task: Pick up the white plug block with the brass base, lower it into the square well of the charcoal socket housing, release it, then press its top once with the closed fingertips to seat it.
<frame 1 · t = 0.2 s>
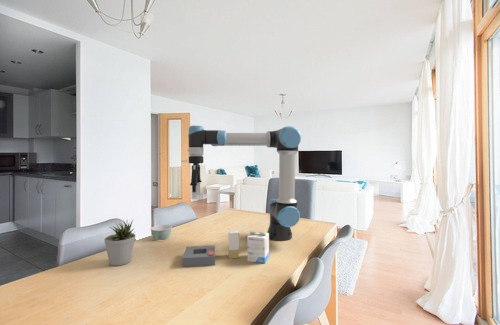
hand: (196, 196, 130), 28 cm above the table, fingers open, 13 cm apart
ink box: (258, 259, 117), on the table
potted plant: (120, 263, 113), on the table
food container: (161, 238, 147), on the table
plug: (233, 256, 121), on the table
socket: (199, 259, 116), on the table
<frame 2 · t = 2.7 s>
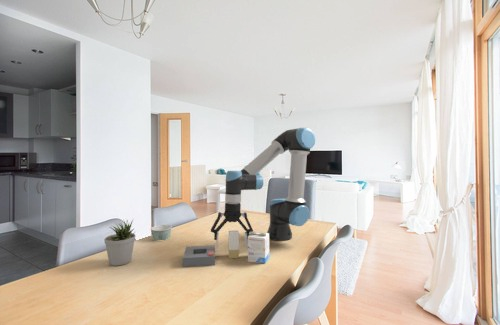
hand: (231, 246, 120), 5 cm above the table, fingers open, 13 cm apart
ink box: (258, 259, 117), on the table, touching gripper
everything else where it was.
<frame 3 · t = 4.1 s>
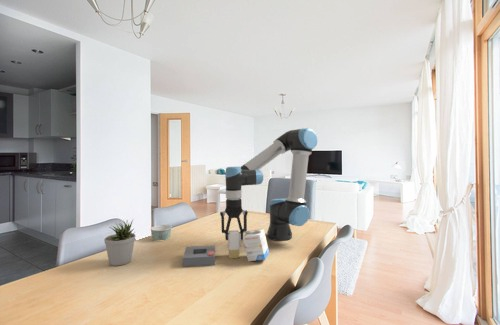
hand: (234, 246, 121), 5 cm above the table, fingers closed on plug, 5 cm apart
ink box: (258, 257, 117), point 1 cm above the table
plug: (233, 256, 121), on the table, touching gripper
everything else where it was.
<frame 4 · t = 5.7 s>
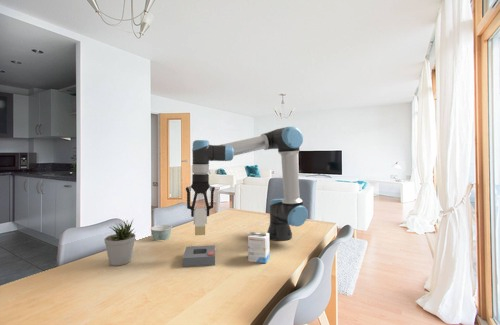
hand: (200, 223, 116), 17 cm above the table, fingers closed on plug, 4 cm apart
ink box: (259, 259, 117), on the table
plug: (200, 233, 116), point 12 cm above the table, touching gripper
everything else where it was.
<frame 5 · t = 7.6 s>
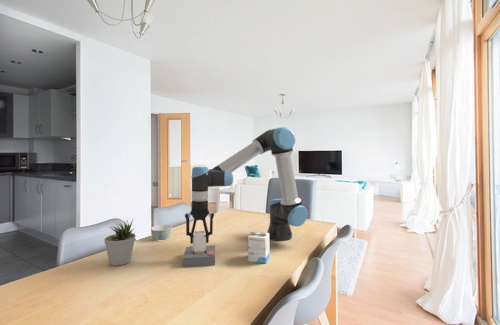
hand: (199, 249, 116), 5 cm above the table, fingers closed on plug, 4 cm apart
plug: (199, 258, 116), point 1 cm above the table, touching gripper, socket
everything else where it was.
when the fingers open (5 cm above the table, at t = 7.7 s): plug stays where it is, resting on socket.
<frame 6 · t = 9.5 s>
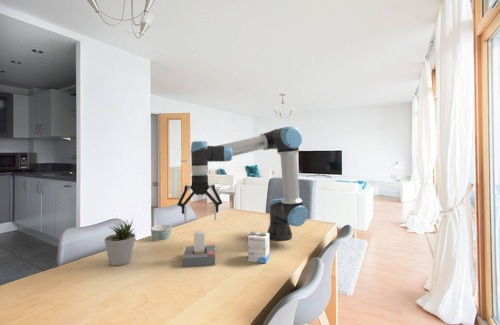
hand: (200, 220, 116), 19 cm above the table, fingers open, 13 cm apart
plug: (199, 258, 116), point 1 cm above the table, touching socket
everything else where it was.
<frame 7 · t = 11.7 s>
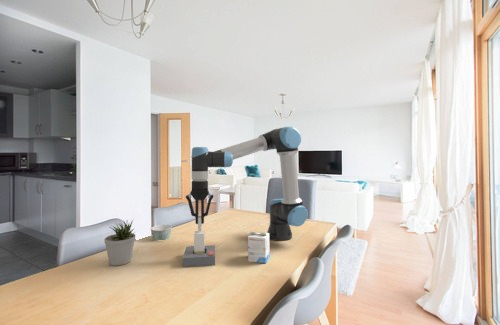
hand: (199, 230, 116), 14 cm above the table, fingers closed
nothing on the table moved.
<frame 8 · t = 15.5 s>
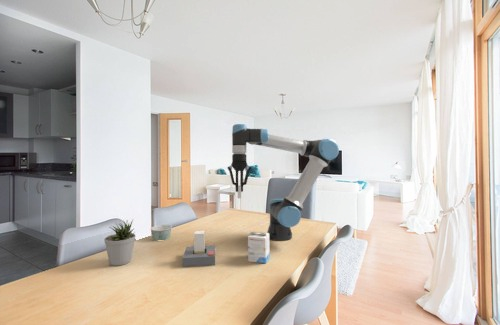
hand: (239, 197, 133), 26 cm above the table, fingers closed
nothing on the table moved.
at the end: plug 0.5 cm off-centre on the socket, point 1.0 cm above the socket's base; plug tilted 0°; the gripper is holding nothing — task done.
